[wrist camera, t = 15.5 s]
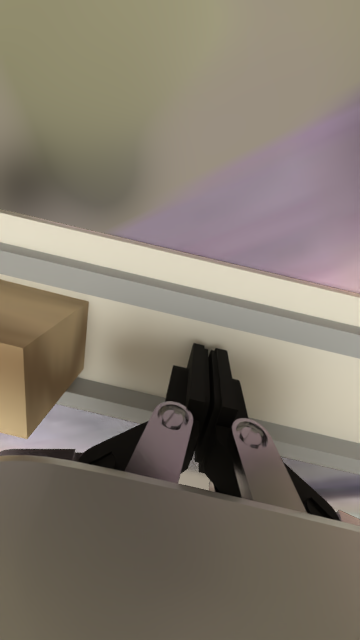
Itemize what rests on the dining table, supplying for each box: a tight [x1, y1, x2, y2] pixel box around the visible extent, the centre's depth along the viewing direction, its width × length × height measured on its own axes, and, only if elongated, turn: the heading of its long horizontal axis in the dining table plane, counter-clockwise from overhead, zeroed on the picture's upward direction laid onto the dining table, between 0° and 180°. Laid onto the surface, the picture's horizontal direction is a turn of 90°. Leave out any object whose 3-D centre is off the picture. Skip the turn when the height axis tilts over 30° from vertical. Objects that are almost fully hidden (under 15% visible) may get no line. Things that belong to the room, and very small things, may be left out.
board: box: [0, 209, 360, 475], centre depth 10 cm, size 10×30×7 cm, turn 78°
